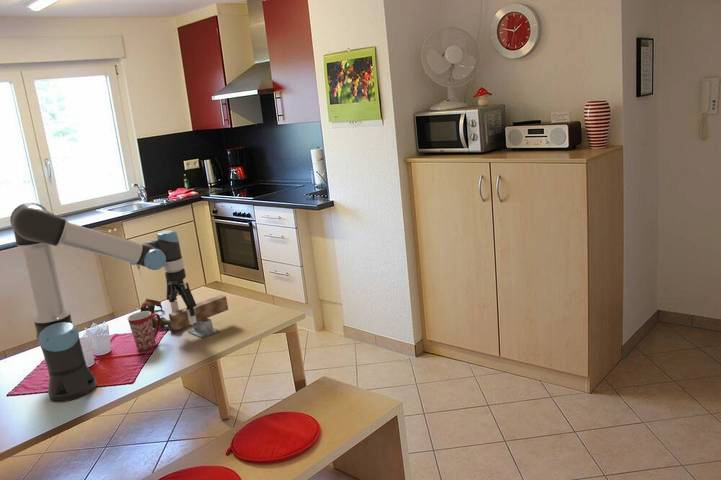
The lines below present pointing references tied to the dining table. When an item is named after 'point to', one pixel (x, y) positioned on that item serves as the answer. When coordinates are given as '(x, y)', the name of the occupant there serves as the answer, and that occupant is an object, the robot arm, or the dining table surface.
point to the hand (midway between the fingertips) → (184, 319)
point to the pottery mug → (150, 305)
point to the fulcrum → (203, 328)
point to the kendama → (163, 324)
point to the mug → (144, 329)
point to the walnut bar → (199, 311)
